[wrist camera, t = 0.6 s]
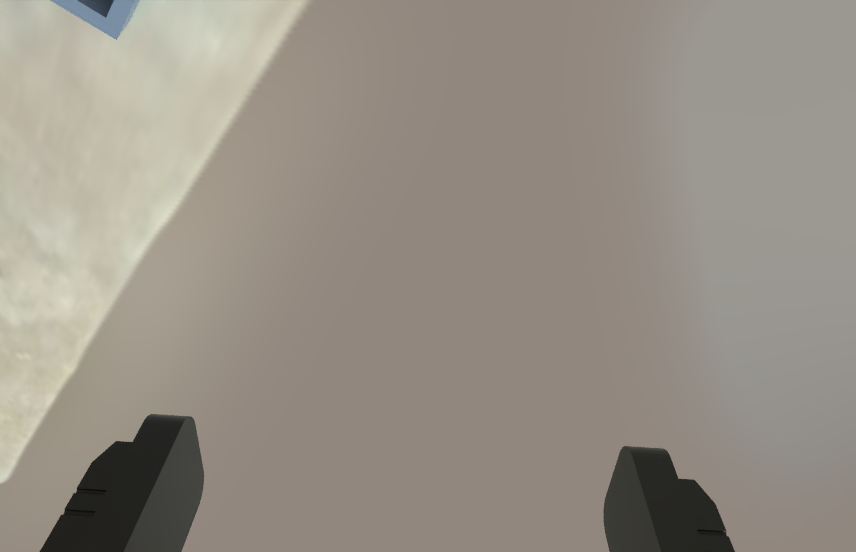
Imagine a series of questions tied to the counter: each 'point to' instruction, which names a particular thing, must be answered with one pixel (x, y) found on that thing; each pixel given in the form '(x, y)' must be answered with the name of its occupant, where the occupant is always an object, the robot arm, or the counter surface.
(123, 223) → the counter surface
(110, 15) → the tray
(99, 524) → the robot arm
